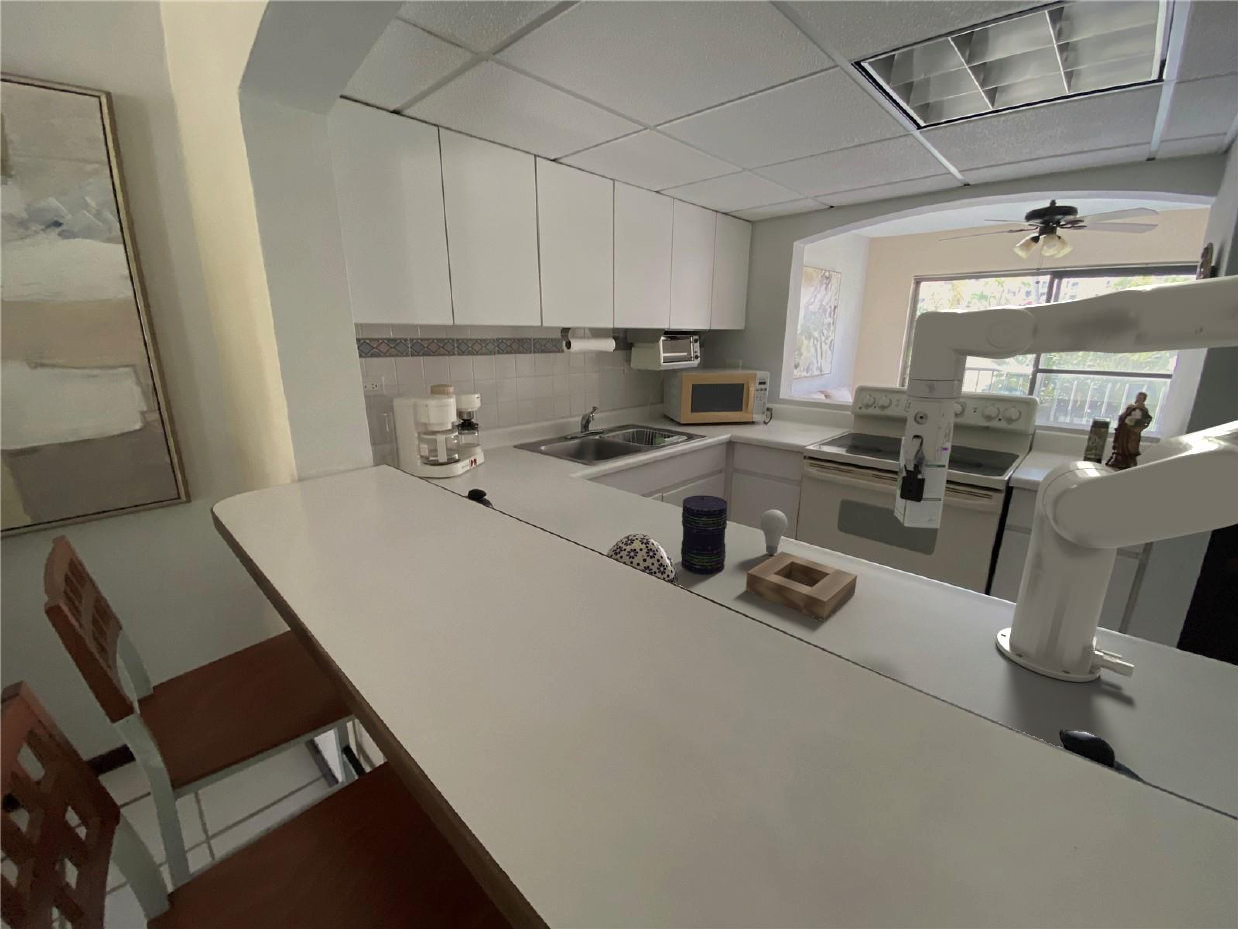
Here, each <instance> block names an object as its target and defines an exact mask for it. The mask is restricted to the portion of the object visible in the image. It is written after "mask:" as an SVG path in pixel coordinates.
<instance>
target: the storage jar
mask: <svg viewBox="0 0 1238 929" xmlns="http://www.w3.org/2000/svg"><path fill="white" fill-rule="evenodd" d="M728 503H729V502H727V500H726V499H724V498H721V497H718V496H712V495H690V496H688V497H685V498H684V499H682V512H681V526H682V540H681V548H680V554H681V556H680V558H681V561H680V563H681V564H680V565H681V568H682V569H683V570H685V572H688V573H691V574H693V575H698V576H713V575H718V574H721V573H722V572H723V571H724V569H725V559H726V555H727V554H726V552H727V550H726V546H727V545H726V542H725V541H726V529H727V526H728V523H727V521H728Z"/></svg>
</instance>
